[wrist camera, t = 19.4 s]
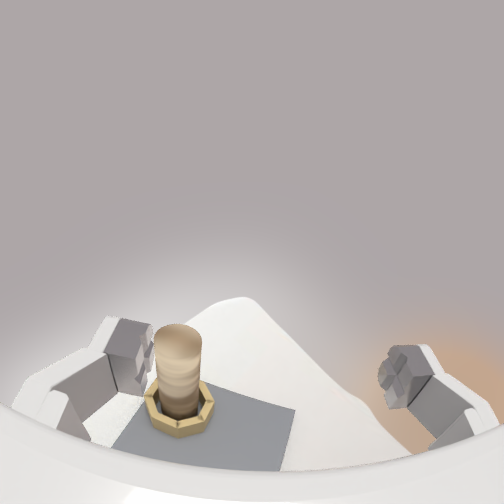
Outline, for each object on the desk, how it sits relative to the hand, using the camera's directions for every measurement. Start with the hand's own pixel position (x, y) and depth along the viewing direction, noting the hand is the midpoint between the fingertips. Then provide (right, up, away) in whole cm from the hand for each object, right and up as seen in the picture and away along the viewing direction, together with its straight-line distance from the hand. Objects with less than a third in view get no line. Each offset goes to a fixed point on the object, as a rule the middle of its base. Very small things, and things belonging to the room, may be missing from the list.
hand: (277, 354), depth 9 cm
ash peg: (-11, -18, +26) cm, 33 cm away
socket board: (-7, -21, +24) cm, 32 cm away
